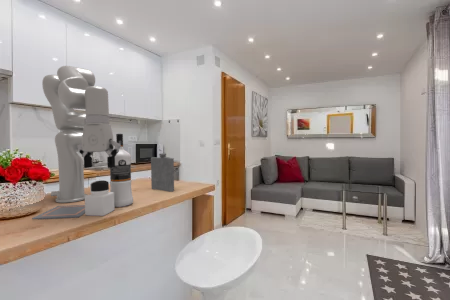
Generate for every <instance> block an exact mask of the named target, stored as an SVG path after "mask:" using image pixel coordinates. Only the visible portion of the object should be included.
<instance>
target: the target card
mask: <svg viewBox="0 0 450 300" xmlns="http://www.w3.org/2000/svg"><path fill="white" fill-rule="evenodd" d="M83 215H85V204H74V205H72V204H71V205H57V206H54V207H53V208H50V209H48V210H46V211H44V212H42V213H41V214H38V215H36V216H33V217H32V218H31V220H32V219H38V220H52V219H53V220H54V219H55V220H57V219H74V218H76V219H77V218H80V217H82V216H83Z"/></svg>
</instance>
